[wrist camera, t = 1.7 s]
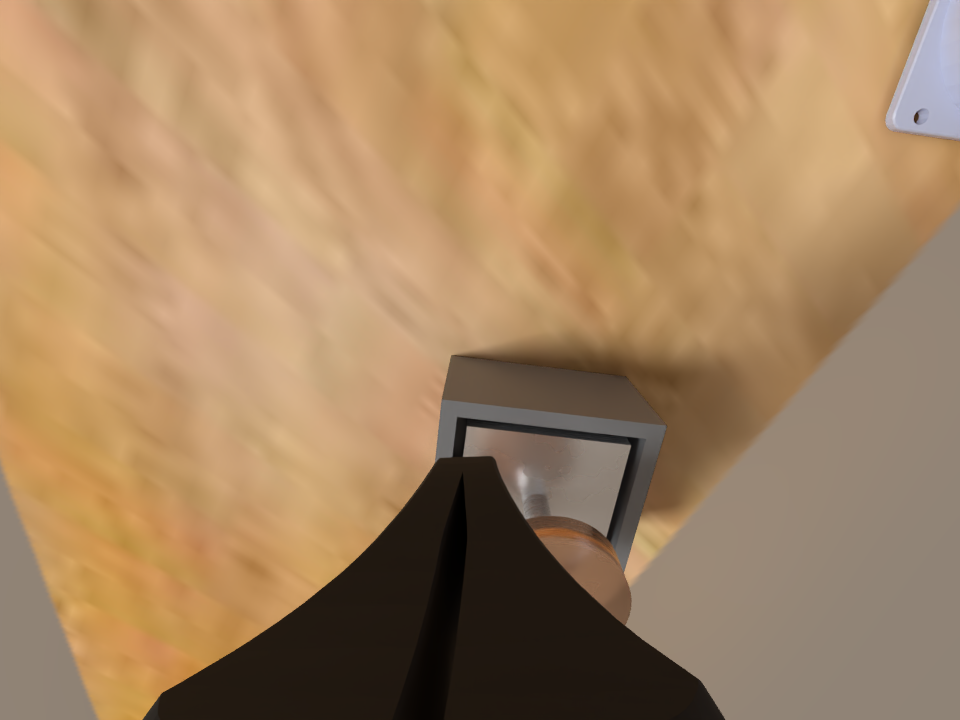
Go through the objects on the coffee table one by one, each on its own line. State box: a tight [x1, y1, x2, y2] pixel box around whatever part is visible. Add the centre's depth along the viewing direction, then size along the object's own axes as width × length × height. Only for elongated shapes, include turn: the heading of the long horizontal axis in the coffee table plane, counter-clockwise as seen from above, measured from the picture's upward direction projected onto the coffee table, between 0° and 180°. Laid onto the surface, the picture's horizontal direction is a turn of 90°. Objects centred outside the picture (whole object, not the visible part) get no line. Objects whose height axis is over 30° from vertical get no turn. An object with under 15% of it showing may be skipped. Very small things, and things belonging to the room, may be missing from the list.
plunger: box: [463, 419, 631, 625], centre depth 15 cm, size 6×6×5 cm
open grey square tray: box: [435, 355, 667, 572], centre depth 19 cm, size 8×8×5 cm
